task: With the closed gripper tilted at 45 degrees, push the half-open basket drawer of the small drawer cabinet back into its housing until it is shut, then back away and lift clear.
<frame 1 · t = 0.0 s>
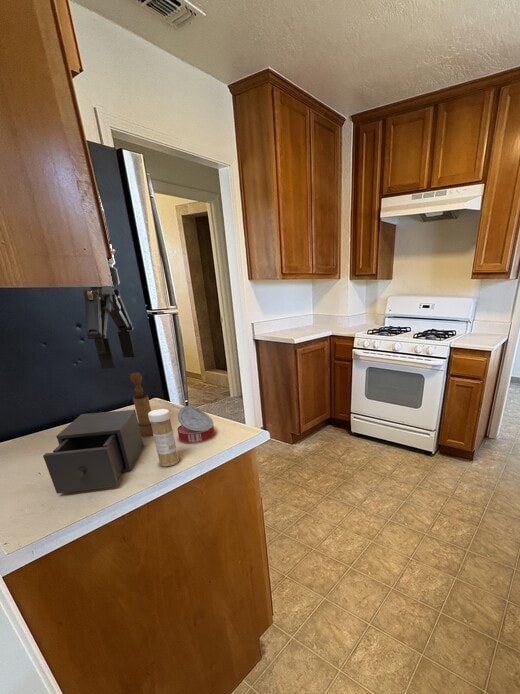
hand: (120, 362, 86), 23 cm above the counter, tool pointing down, fingers open, 13 cm apart
canned food: (197, 437, 102), on the counter
small drawer cabinet: (110, 460, 88), on the counter
sprinkles bottle: (169, 463, 87), on the counter
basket: (91, 458, 78), point 5 cm above the counter, slide at 7.0 cm
mortar and pestle: (148, 433, 105), on the counter
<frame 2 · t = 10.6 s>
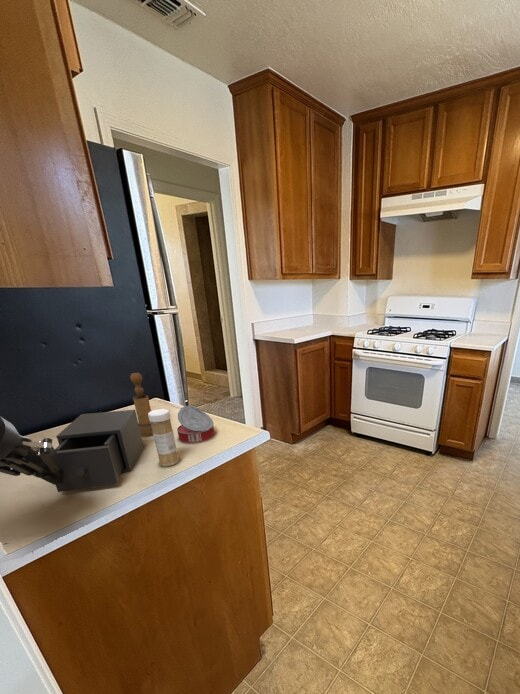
hand: (59, 477, 71), 5 cm above the counter, tool tilted 45°, fingers closed
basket: (92, 457, 78), point 5 cm above the counter, slide at 6.4 cm, touching gripper
everything else where it was.
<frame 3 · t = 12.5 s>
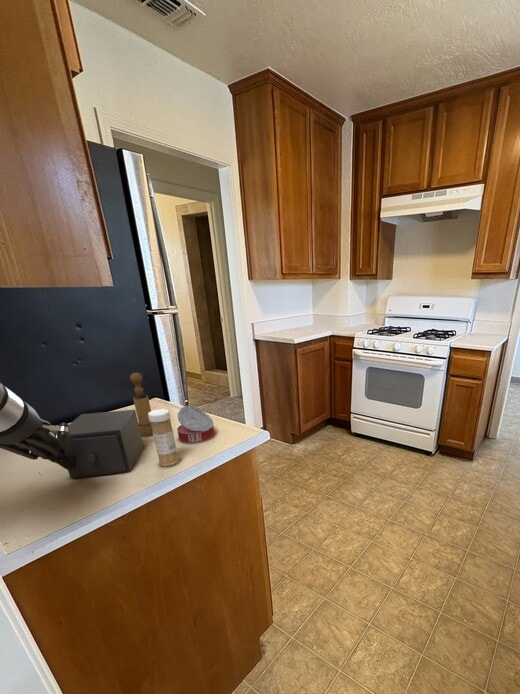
hand: (72, 463, 77), 5 cm above the counter, tool tilted 45°, fingers closed
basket: (102, 445, 84), point 5 cm above the counter, slide at 0.0 cm, touching small drawer cabinet, gripper
everything else where it was.
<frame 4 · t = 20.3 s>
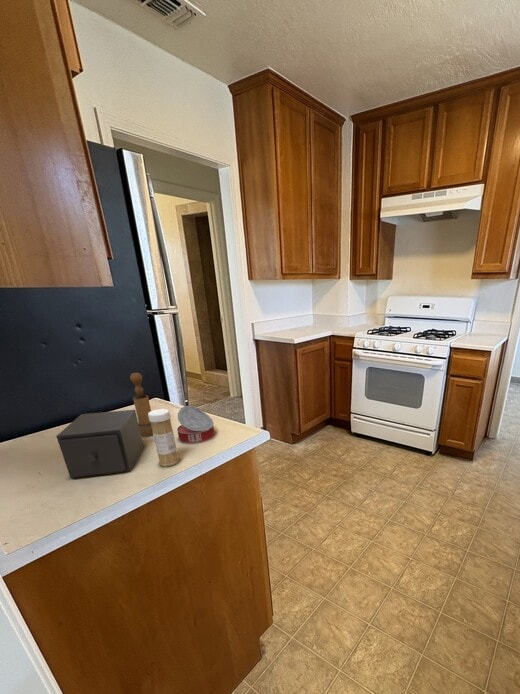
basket: (102, 445, 84), point 5 cm above the counter, slide at 0.0 cm, touching small drawer cabinet
everything else where it was.
at the end: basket slide at 0.0 cm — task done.
